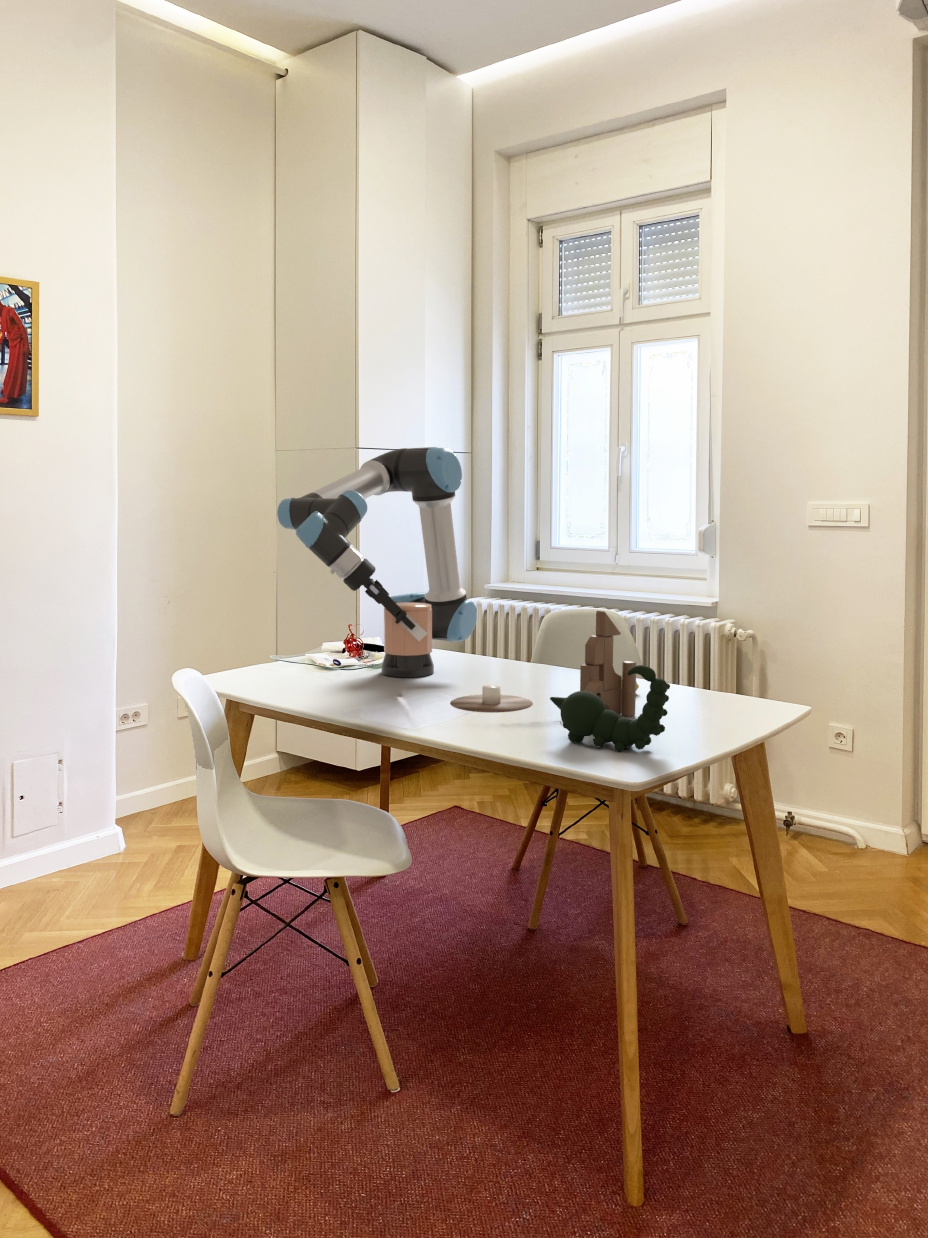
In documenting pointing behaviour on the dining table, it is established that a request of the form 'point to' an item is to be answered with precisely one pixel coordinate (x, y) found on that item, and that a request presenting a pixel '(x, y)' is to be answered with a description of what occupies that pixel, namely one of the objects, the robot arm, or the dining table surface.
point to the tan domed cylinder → (401, 638)
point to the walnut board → (476, 705)
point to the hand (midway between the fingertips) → (419, 633)
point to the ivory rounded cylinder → (491, 694)
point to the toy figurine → (614, 716)
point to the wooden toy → (607, 670)
